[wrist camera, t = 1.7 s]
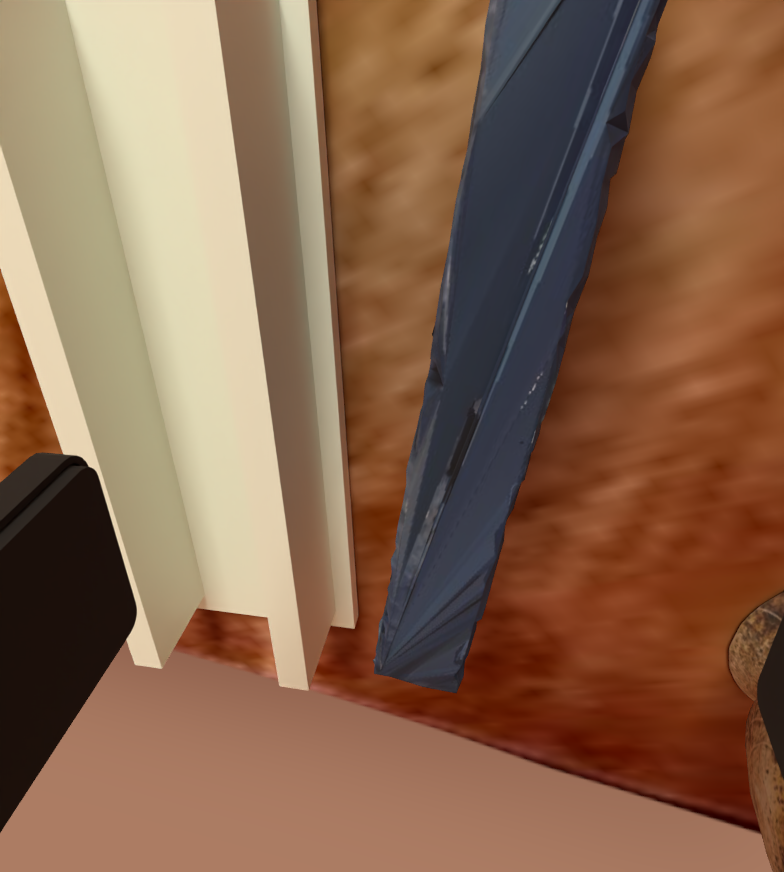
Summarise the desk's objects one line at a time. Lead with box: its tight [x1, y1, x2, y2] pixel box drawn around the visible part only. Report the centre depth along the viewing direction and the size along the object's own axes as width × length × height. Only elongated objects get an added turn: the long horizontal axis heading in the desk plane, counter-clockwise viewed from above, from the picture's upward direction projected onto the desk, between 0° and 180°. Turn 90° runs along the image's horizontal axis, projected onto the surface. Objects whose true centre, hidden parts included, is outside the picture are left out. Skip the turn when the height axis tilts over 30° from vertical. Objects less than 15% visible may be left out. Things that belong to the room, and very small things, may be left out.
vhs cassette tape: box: [373, 0, 667, 693], centre depth 17 cm, size 18×3×10 cm, turn 170°
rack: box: [0, 0, 358, 690], centre depth 23 cm, size 9×25×5 cm, turn 1°
